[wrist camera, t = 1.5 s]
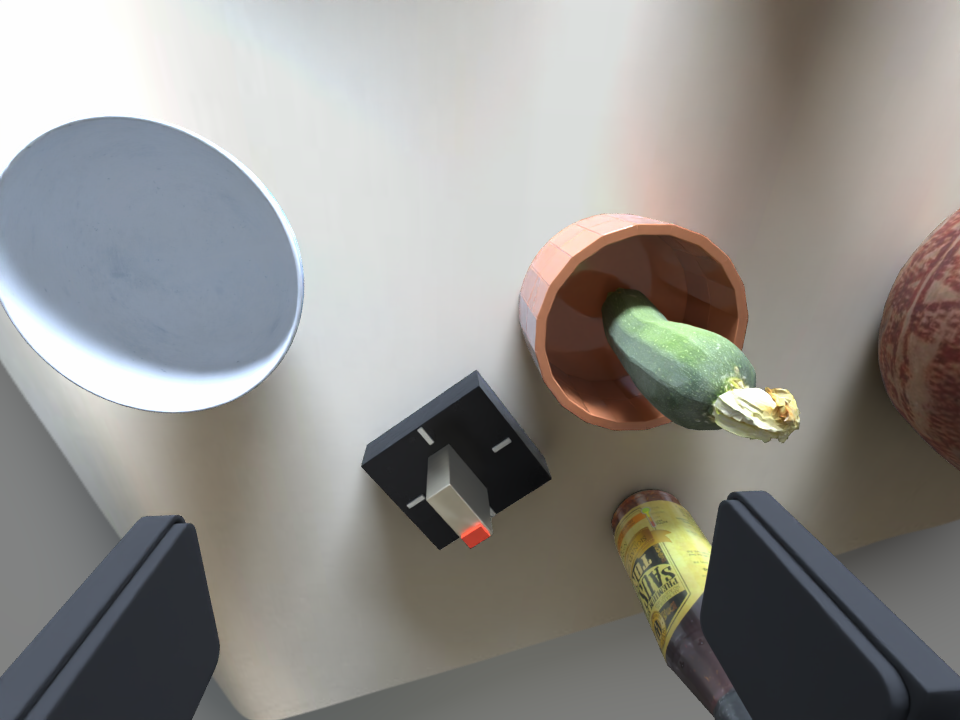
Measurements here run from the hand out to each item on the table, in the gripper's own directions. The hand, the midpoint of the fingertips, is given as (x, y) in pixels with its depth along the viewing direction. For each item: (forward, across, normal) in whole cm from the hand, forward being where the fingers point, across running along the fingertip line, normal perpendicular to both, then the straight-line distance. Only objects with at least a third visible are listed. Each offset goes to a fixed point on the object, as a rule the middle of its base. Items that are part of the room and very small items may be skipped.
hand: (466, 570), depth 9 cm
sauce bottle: (+28, -16, +20) cm, 37 cm away
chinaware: (+28, +15, -2) cm, 32 cm away
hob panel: (+28, 0, +13) cm, 30 cm away
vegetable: (+27, -11, +2) cm, 29 cm away
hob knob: (+24, 0, +13) cm, 28 cm away
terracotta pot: (+27, -11, +2) cm, 29 cm away
